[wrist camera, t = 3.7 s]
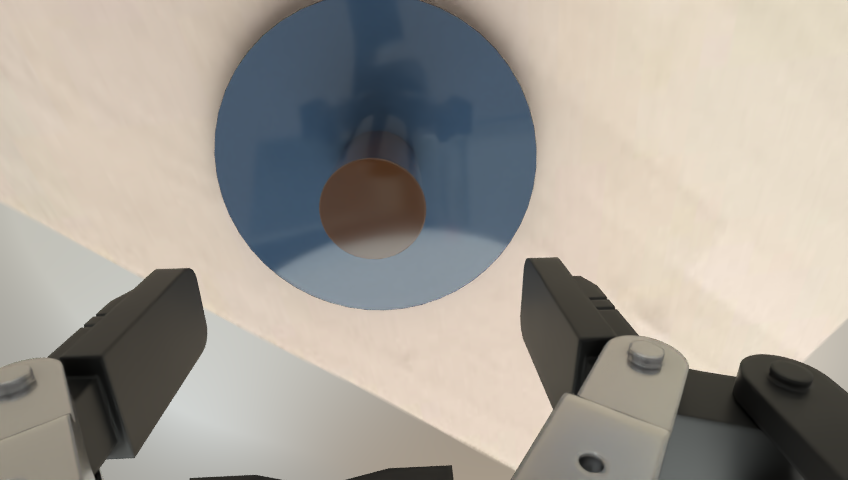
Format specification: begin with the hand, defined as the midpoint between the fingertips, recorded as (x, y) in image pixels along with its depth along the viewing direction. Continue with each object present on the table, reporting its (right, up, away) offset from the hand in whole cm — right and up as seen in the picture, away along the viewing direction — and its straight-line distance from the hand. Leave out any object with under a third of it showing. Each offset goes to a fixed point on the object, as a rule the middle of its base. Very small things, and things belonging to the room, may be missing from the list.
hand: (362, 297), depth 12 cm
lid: (-1, +5, +12) cm, 13 cm away
